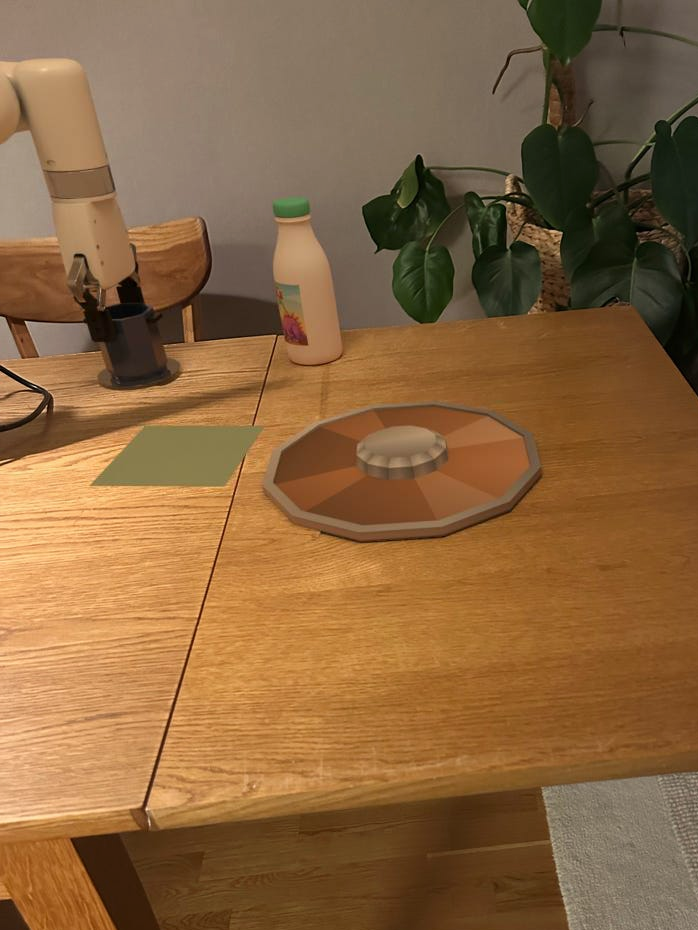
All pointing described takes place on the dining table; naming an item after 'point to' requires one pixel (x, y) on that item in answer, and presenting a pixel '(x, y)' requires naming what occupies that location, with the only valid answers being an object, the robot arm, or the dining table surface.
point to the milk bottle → (304, 287)
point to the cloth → (180, 456)
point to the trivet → (159, 380)
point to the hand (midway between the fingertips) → (121, 328)
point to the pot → (134, 343)
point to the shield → (402, 471)
